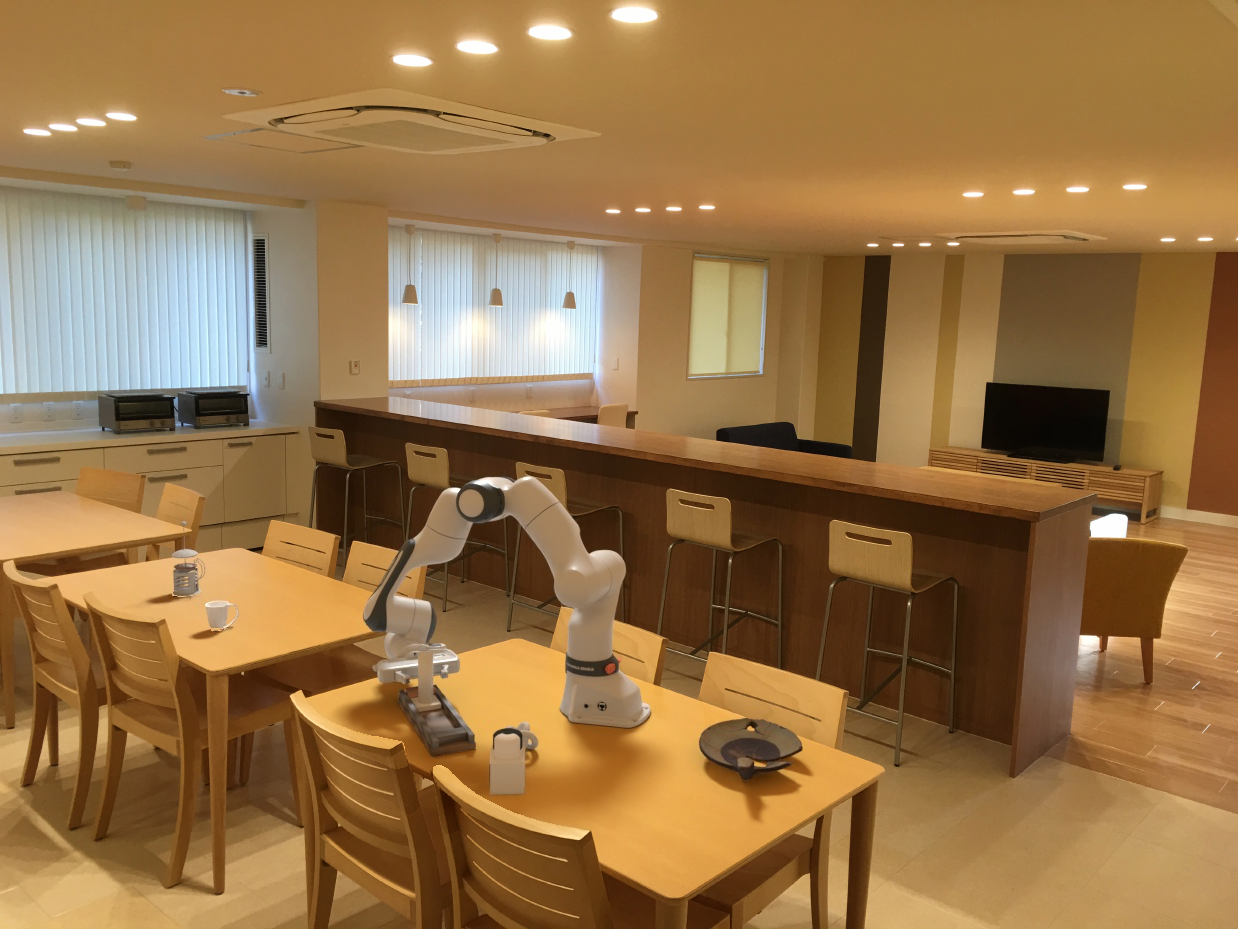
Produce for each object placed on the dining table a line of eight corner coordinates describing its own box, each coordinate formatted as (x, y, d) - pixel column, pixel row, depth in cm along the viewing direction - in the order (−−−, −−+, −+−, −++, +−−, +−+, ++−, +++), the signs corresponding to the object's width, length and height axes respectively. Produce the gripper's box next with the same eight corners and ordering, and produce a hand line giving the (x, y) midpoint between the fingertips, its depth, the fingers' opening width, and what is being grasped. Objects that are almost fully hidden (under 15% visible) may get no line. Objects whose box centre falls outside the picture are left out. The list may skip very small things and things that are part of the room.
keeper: (441, 708, 234) (441, 656, 232) (416, 712, 232) (416, 659, 230) (434, 699, 240) (434, 648, 238) (410, 703, 237) (410, 651, 235)
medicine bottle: (490, 779, 203) (491, 724, 201) (524, 778, 204) (525, 724, 202) (489, 795, 196) (489, 739, 194) (524, 795, 197) (525, 739, 195)
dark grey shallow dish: (817, 755, 218) (819, 723, 217) (760, 809, 193) (762, 773, 192) (728, 730, 230) (729, 699, 229) (664, 778, 205) (665, 744, 204)
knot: (543, 746, 219) (544, 721, 218) (531, 761, 212) (531, 736, 211) (512, 741, 221) (513, 717, 220) (499, 756, 214) (499, 731, 213)
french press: (181, 588, 334) (178, 517, 330) (212, 590, 332) (210, 519, 329) (164, 596, 324) (161, 523, 321) (196, 598, 323) (193, 525, 319)
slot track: (475, 749, 217) (475, 730, 216) (432, 756, 212) (431, 737, 212) (437, 697, 245) (437, 680, 244) (397, 703, 241) (397, 686, 240)
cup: (201, 629, 292) (200, 603, 291) (233, 622, 300) (232, 597, 298) (211, 634, 288) (210, 608, 286) (244, 627, 295) (243, 602, 294)
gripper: (370, 653, 241) (383, 671, 229) (450, 642, 250) (466, 660, 238) (370, 677, 242) (383, 696, 230) (450, 666, 251) (466, 684, 239)
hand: (426, 678), depth 234 cm, fingers open, 8 cm apart
